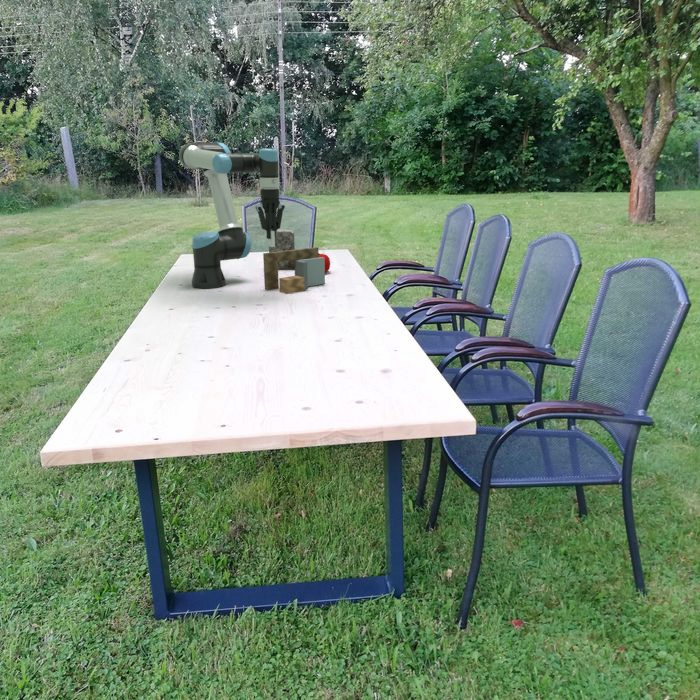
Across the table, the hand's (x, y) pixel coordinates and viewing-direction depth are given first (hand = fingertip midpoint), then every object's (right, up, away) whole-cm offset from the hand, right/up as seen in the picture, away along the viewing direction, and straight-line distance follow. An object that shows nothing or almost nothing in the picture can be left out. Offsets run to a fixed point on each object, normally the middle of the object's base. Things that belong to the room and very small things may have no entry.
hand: (271, 246), depth 264 cm
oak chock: (+8, -18, +11) cm, 22 cm away
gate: (+16, -15, +19) cm, 29 cm away
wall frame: (+8, -14, +22) cm, 28 cm away
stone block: (-2, -2, +62) cm, 62 cm away
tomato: (+17, -5, +51) cm, 54 cm away
